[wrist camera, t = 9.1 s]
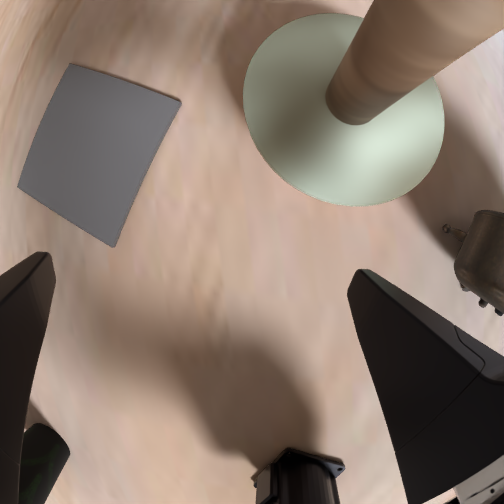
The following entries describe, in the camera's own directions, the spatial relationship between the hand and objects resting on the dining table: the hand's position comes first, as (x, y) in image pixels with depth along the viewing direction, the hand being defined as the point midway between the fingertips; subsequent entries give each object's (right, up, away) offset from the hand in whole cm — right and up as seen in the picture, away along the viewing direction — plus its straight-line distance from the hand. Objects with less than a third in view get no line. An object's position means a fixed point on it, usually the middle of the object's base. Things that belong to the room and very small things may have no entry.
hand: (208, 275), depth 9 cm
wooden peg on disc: (+6, +8, +7) cm, 12 cm away
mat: (-11, +8, +12) cm, 18 cm away
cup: (-22, -21, +18) cm, 35 cm away
